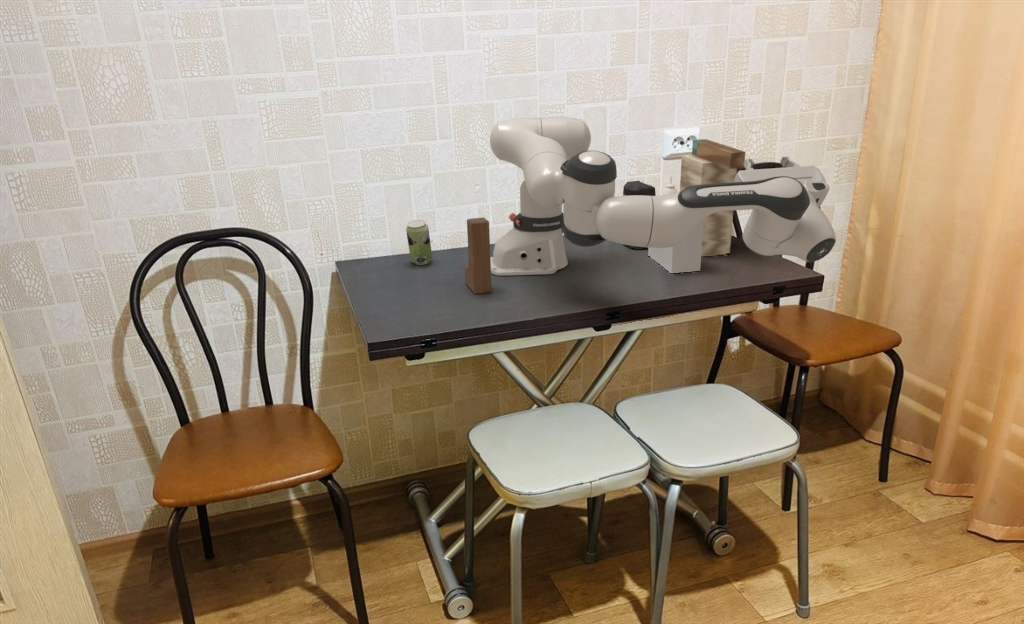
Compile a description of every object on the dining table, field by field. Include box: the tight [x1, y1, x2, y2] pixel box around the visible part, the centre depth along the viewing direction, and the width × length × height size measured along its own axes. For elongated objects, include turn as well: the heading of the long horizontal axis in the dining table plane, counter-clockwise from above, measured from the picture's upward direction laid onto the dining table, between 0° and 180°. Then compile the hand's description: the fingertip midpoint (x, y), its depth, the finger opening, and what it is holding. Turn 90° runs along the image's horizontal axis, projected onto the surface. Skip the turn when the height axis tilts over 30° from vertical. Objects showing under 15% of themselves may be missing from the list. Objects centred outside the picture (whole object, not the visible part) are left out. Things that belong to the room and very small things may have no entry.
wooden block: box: [464, 217, 492, 295], centre depth 184 cm, size 9×4×18 cm, turn 18°
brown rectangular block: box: [691, 138, 746, 169], centre depth 198 cm, size 4×22×4 cm, turn 12°
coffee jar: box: [622, 180, 657, 250], centre depth 215 cm, size 10×8×19 cm
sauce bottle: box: [659, 176, 678, 196], centre depth 225 cm, size 8×8×18 cm
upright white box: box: [647, 219, 704, 274], centre depth 199 cm, size 8×16×15 cm, turn 12°
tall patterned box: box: [679, 154, 738, 256], centre depth 208 cm, size 10×13×26 cm
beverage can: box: [405, 219, 433, 266], centre depth 205 cm, size 6×7×12 cm
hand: (765, 160), depth 175 cm, fingers open, 8 cm apart
